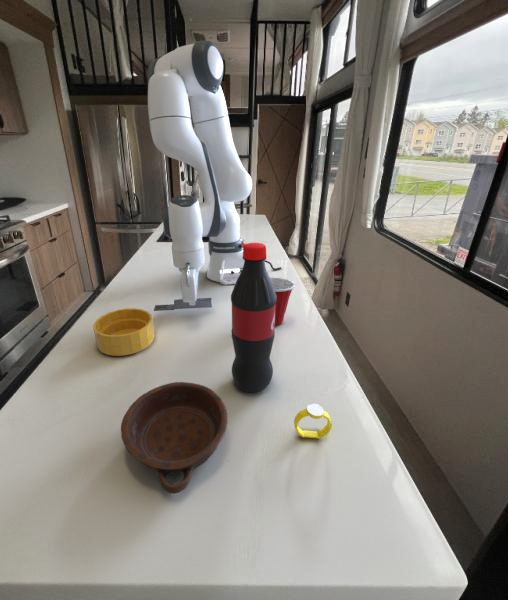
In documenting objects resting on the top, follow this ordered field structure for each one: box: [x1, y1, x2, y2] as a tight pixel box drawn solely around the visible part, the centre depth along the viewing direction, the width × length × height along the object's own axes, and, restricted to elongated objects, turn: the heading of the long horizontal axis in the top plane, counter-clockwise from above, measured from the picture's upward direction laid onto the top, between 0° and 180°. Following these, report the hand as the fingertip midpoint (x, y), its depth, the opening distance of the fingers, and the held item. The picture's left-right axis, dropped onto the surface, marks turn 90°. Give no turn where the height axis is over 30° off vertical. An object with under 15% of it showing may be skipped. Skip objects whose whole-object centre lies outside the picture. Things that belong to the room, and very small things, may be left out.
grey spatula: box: [153, 297, 213, 312], centre depth 96 cm, size 17×3×2 cm, turn 92°
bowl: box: [92, 307, 155, 357], centre depth 82 cm, size 14×14×6 cm
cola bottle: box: [230, 242, 277, 393], centre depth 62 cm, size 8×8×30 cm
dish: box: [120, 381, 229, 495], centre depth 55 cm, size 18×22×5 cm
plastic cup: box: [270, 276, 295, 327], centre depth 89 cm, size 11×11×12 cm
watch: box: [293, 403, 333, 440], centre depth 54 cm, size 6×3×6 cm, turn 87°
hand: (192, 302), depth 96 cm, fingers closed on grey spatula, 1 cm apart
